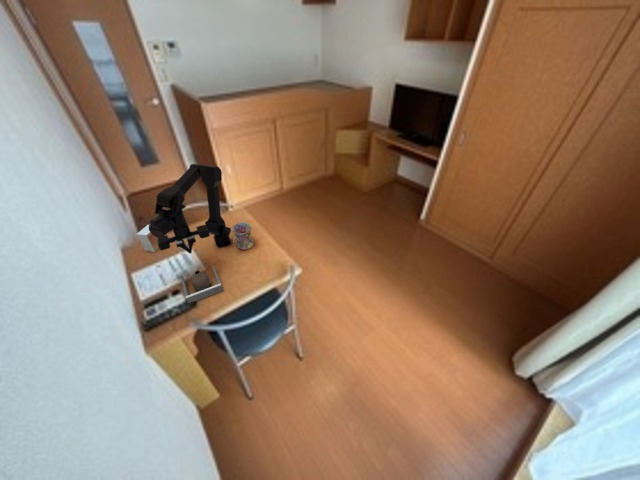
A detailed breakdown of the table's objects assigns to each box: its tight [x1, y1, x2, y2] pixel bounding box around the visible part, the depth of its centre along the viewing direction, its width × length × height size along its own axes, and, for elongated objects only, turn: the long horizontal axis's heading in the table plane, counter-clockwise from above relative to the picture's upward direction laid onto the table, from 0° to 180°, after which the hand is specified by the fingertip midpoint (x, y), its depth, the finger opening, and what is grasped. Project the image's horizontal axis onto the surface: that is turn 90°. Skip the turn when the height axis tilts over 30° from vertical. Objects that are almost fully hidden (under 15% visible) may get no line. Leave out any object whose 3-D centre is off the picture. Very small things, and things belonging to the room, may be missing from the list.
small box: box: [136, 224, 160, 253], centre depth 129 cm, size 8×6×10 cm
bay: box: [180, 264, 224, 304], centre depth 111 cm, size 14×14×4 cm
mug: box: [231, 222, 255, 251], centre depth 129 cm, size 12×9×11 cm
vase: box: [190, 269, 211, 291], centre depth 110 cm, size 7×7×9 cm
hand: (190, 252), depth 112 cm, fingers closed
